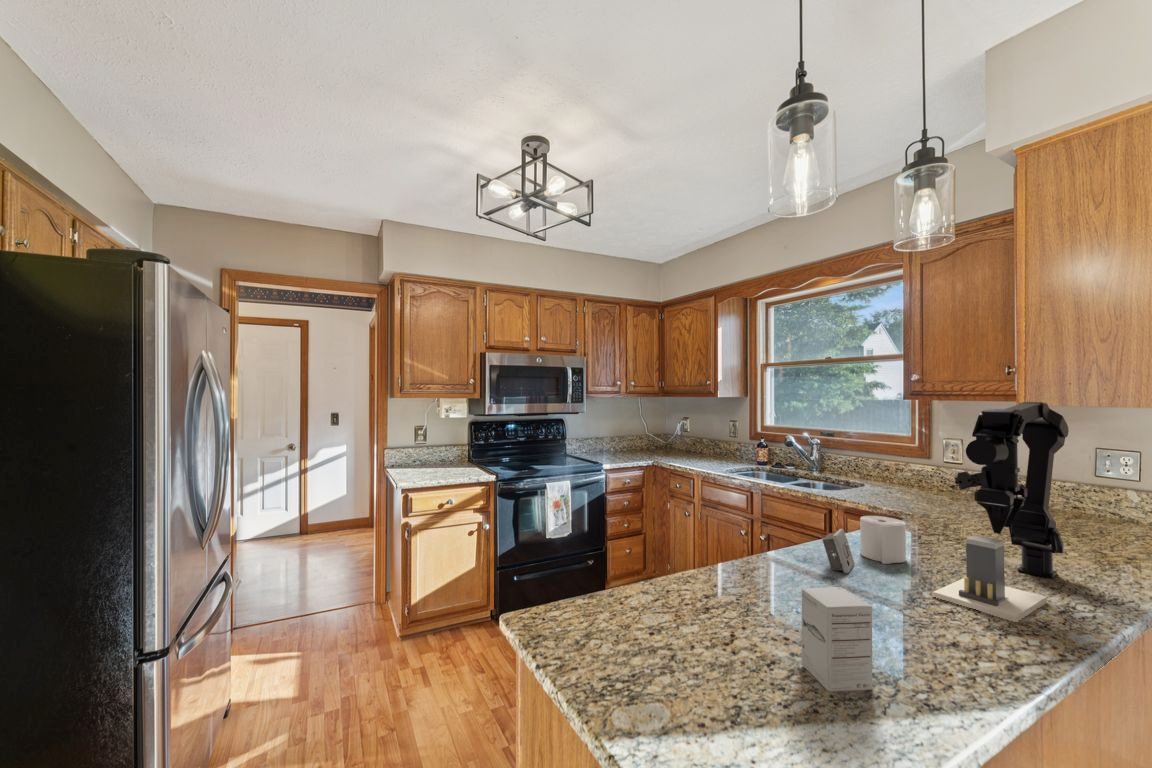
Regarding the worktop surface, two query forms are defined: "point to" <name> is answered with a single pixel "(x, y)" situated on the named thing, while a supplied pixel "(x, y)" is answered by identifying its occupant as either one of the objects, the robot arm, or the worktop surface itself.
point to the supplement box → (837, 638)
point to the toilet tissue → (883, 539)
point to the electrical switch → (838, 551)
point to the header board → (992, 600)
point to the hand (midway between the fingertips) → (1002, 530)
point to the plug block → (986, 565)
